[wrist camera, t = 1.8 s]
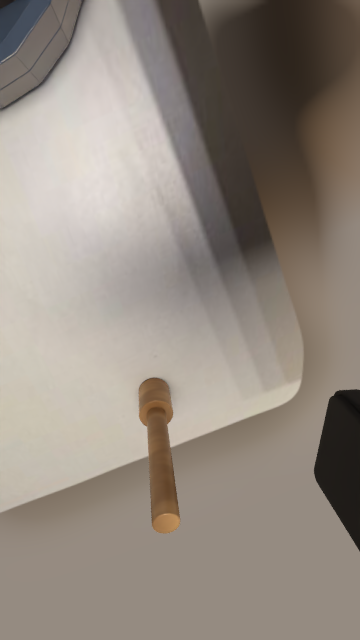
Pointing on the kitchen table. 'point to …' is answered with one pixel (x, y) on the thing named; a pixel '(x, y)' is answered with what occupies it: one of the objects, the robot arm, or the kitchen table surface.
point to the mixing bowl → (32, 42)
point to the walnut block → (5, 3)
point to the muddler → (159, 454)
